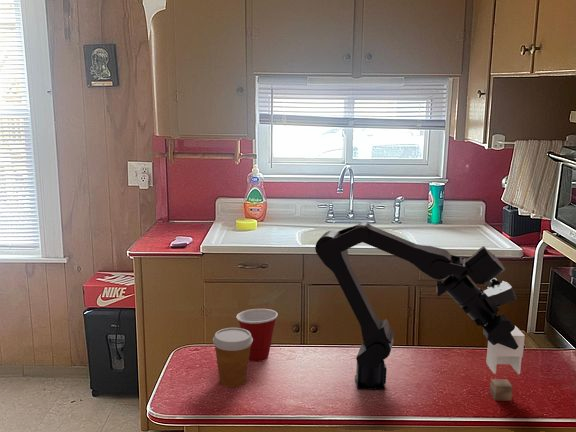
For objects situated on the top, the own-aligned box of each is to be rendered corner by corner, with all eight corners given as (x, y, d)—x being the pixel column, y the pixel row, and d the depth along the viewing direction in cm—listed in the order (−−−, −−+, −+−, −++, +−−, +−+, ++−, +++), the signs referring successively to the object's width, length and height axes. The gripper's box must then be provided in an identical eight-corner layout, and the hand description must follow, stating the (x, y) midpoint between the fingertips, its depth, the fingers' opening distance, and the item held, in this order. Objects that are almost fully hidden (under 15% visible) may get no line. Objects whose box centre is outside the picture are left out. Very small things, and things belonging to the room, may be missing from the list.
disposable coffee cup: (204, 381, 150) (204, 334, 147) (234, 368, 157) (234, 323, 154) (231, 394, 144) (231, 346, 141) (260, 381, 150) (261, 334, 148)
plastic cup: (255, 344, 171) (255, 303, 169) (285, 355, 165) (286, 313, 162) (227, 357, 163) (227, 314, 161) (258, 369, 156) (258, 324, 154)
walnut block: (494, 400, 143) (496, 386, 143) (489, 392, 147) (491, 379, 146) (511, 401, 143) (512, 387, 143) (505, 393, 147) (507, 379, 146)
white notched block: (494, 374, 141) (498, 335, 139) (486, 362, 147) (489, 325, 145) (520, 375, 141) (524, 335, 139) (511, 363, 147) (515, 325, 145)
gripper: (509, 285, 130) (556, 335, 132) (482, 260, 148) (524, 305, 150) (468, 319, 131) (515, 369, 134) (447, 291, 150) (488, 334, 152)
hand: (511, 342), depth 142 cm, fingers closed on white notched block, 6 cm apart
